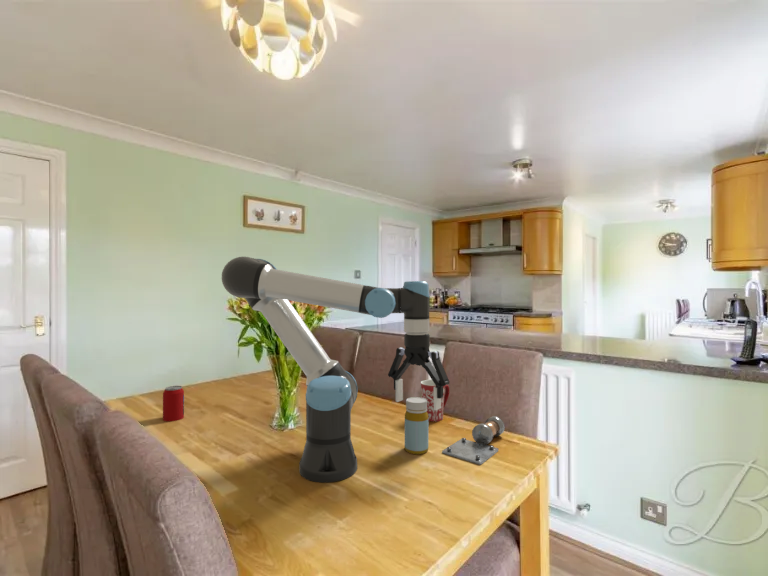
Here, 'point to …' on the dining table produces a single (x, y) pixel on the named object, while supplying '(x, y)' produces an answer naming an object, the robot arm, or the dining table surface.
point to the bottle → (416, 425)
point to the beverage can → (173, 403)
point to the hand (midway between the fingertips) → (417, 405)
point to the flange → (478, 442)
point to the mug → (428, 394)
